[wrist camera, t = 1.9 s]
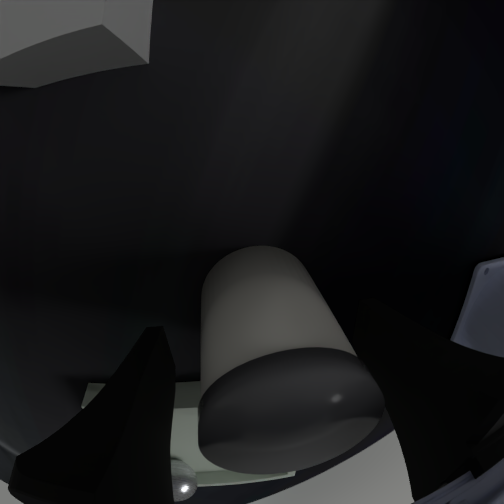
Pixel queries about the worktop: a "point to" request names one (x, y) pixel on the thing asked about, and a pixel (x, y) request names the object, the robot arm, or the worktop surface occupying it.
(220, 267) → the cylinder
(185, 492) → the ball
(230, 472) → the tray
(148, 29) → the block
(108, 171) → the worktop surface
